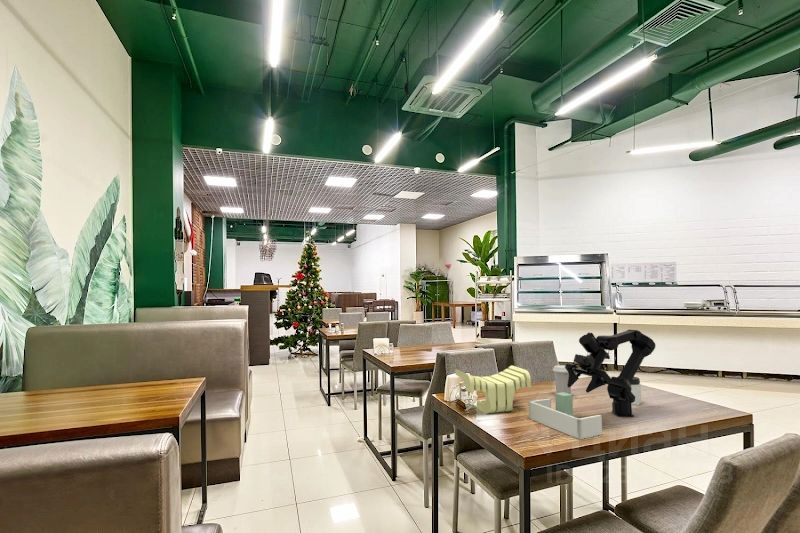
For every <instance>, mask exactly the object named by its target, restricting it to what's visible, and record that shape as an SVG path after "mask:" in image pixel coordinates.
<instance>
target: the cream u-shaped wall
mask: <svg viewBox="0 0 800 533" xmlns="http://www.w3.org/2000/svg"><path fill="white" fill-rule="evenodd" d="M602 417H603V416H602V415H601V414H597V415H591V416H587V417H586V416H585V417H581V418H579V417H575V416H574V415H573V416H570V415H567V414H565V413H562V412H559V411H556V409H553V408H552V398H545V399H543V398H542V399H537V400H530V401H528V418H529V419H530V420H533V421H535V422H537V423H539V424H541V425H543V426H546V427H549V428H552V429H554V430H557V431H559V432H561V433H563V434H566V435H568V436H571V437H573V438H575V439H577V438H578V440H584V438H585V439H589V438H594V437H598V435H599V436H602V435H603V421H602V420H603V419H602ZM593 436H594V437H593Z"/></svg>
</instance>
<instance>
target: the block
mask: <svg viewBox="0 0 800 533" xmlns="http://www.w3.org/2000/svg"><path fill="white" fill-rule="evenodd" d="M554 398H555V400H554V401H555V410H556V411H559V412H562V413H565V414H567V415H570V416H573V417H574V405H573V394H572V393H571V394H568V393H565V392H561V393H556V392H555V393H554Z"/></svg>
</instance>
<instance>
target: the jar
mask: <svg viewBox="0 0 800 533" xmlns="http://www.w3.org/2000/svg"><path fill="white" fill-rule="evenodd" d="M640 382H641V381H640V378H639V377H638V376H634V377H633V379H632V381H631V388H632V390H631V392H632V394H633V395H634V396H635V402H633V403H631V406H639V405H642V404H643V402H642V387H641V384H642V383H640Z"/></svg>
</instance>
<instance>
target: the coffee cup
mask: <svg viewBox="0 0 800 533" xmlns="http://www.w3.org/2000/svg"><path fill="white" fill-rule="evenodd" d="M565 366H566V365H565V364H563V365H562V364H558V365H557V364H556V365H554V367H553V368H552V371H553V375H554V376H553V377H554V382H555V384H554V385H555V391H556V392H555V393H561V392H565V393H568V394H571V395H572V393H571V392H572V391H571V390H572V386H571V387H570V388H569V387H568V386H567V385H568V379H569V373H568V371H567V370H566V368H565Z"/></svg>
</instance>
